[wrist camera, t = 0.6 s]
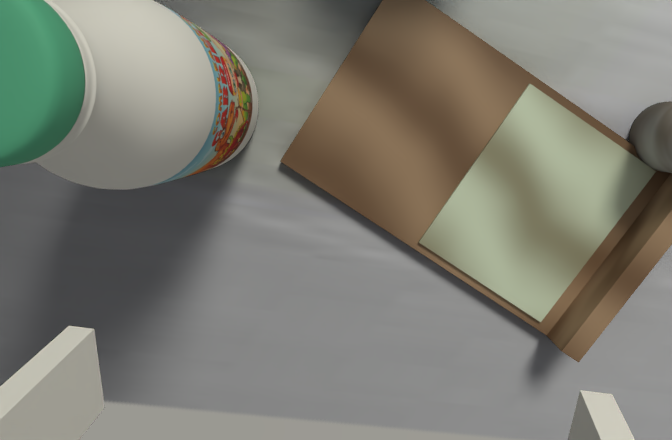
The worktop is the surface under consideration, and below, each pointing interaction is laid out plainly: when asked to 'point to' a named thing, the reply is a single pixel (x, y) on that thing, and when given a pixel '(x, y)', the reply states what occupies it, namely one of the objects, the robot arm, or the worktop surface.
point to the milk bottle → (118, 92)
